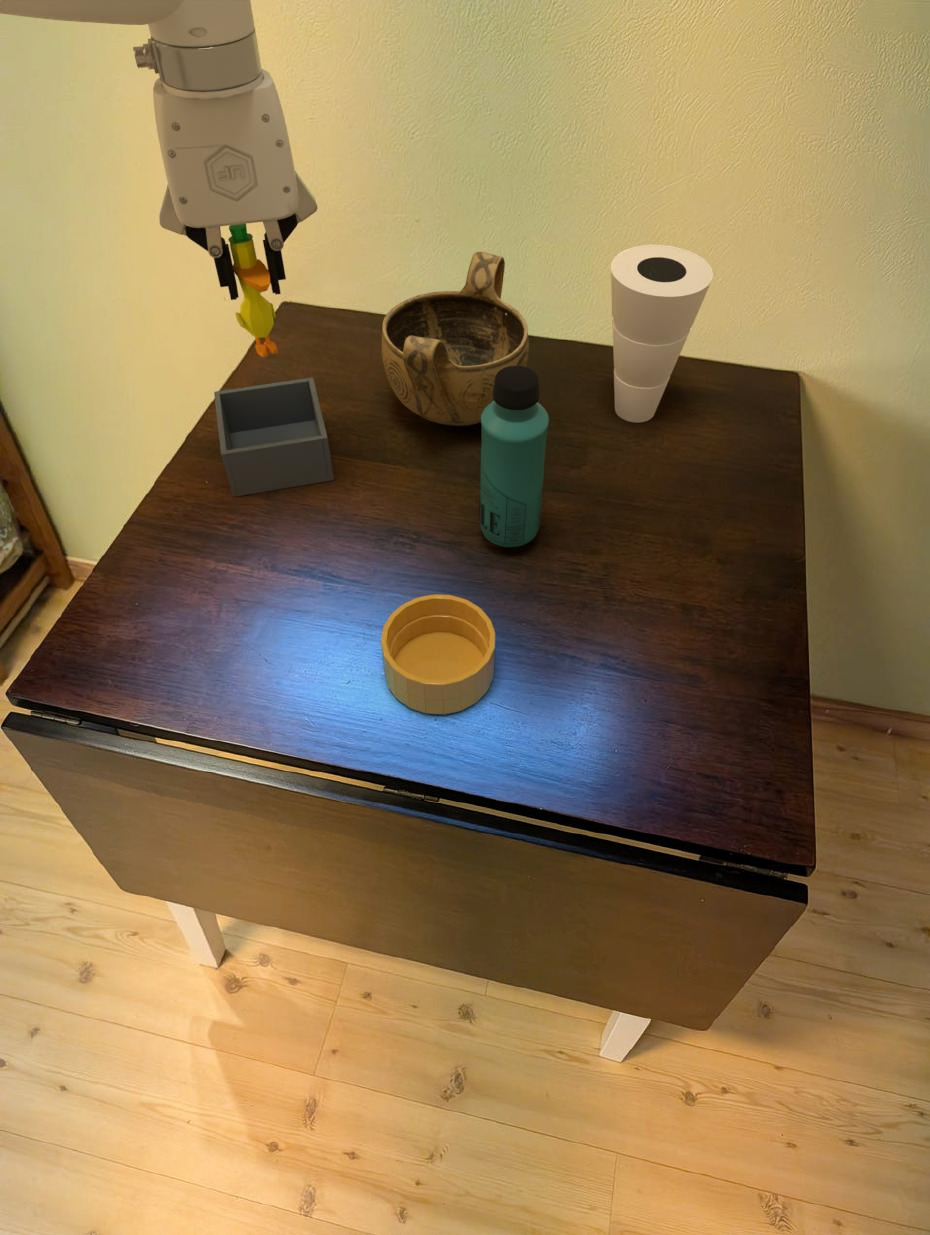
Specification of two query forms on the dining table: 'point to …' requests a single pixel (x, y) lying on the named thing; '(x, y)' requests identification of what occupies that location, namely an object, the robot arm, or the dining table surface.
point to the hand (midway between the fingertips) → (254, 287)
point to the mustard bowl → (438, 653)
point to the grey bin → (273, 436)
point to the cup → (652, 321)
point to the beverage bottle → (512, 459)
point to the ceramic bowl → (454, 346)
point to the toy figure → (252, 289)
